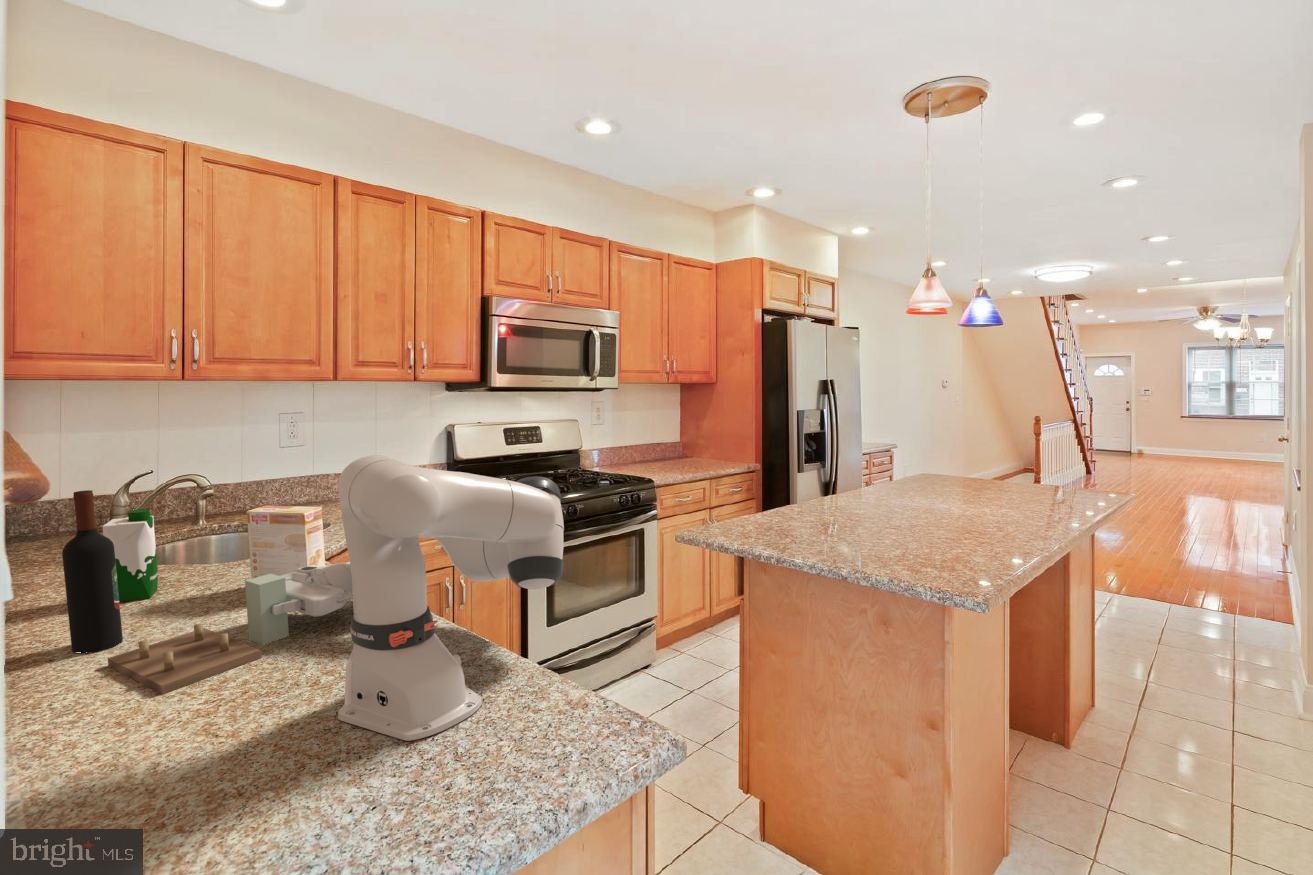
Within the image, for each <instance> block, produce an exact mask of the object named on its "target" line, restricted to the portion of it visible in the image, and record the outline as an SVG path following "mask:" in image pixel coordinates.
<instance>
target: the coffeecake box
mask: <svg viewBox="0 0 1313 875" xmlns="http://www.w3.org/2000/svg"><path fill="white" fill-rule="evenodd" d="M246 518H247V520H246V521H247V532H248V533H247V534H248V547H249V548H248V550H249V564H250V576H251V577H250V579H252V578H256V577H260V576H264V575H267V574H274V575H278V576H281V575H284V574H288V573H293V572H297V569H298V568H302V567H322V566H326V561H325V560H326V559H325V557H326V556H325V542H324V525H323V524H324V523H323V521H324V520H323V507H322V506H299V505H296V506H294V505H262V506H259V507H255V508H252V509H249V510H247V511H246Z"/></svg>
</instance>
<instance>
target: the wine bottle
mask: <svg viewBox="0 0 1313 875" xmlns="http://www.w3.org/2000/svg"><path fill="white" fill-rule="evenodd" d="M72 495H73V502H74V512H75V521H76V522H75V523H76V524H75V525H76V535H75V536H73V538H71V539H70V540H69V541H68V542H66V544H65V545H64V547H63V548H62V551H61V552H62V553H61V555H62V566H63V574H64V575H63V576H64V586H65V596H66V597H65V598H66V605H67V614H68V615H67V616H68V623H69V634H70V646H71V652H73V653H74V652H81V653H85V654H87V653H86V652H93V653H98V652H102V651H106V650H110V649H112V648H115V647H117V646H119V645H120V644H121V643H123V639H124V638H123V629H122V618H121V617H122V616H121V607H120V606H121V604H120V602H119V594H118V583H117V572H116V561H115V550H114V544H113V542H112V541H111V540H110V539H109V538H107V537H105V536H103V534H101V533H99V531H98V529H97V526H96V525H97V524H96V515H95V514H96V513H95V505H94V498H95V497H94V492H93V490H92V489H91V490H90V489H89V490H79V491H74V492H73V493H72ZM119 643H120V644H119ZM118 644H119V645H118ZM116 645H117V646H116ZM114 646H115V647H114ZM109 648H110V649H109Z"/></svg>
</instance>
